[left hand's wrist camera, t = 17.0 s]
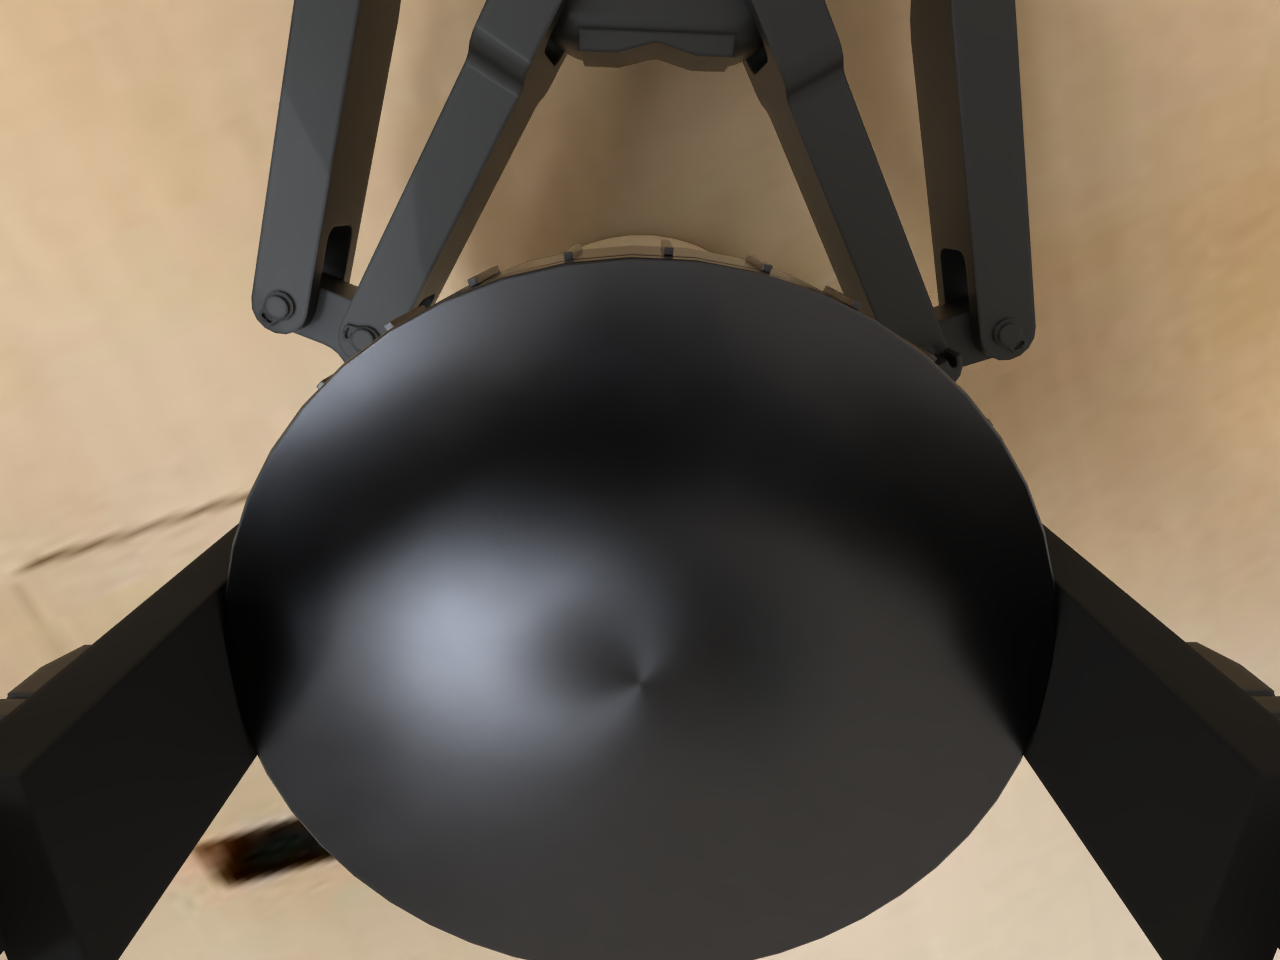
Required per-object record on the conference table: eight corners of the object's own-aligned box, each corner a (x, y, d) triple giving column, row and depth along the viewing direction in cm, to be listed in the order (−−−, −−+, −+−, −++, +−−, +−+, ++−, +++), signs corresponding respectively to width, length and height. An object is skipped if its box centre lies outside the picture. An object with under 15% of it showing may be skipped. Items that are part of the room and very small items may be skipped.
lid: (137, 555, 12) (38, 626, 10) (712, 49, 10) (730, 12, 8) (594, 957, 15) (587, 1073, 13) (1118, 650, 13) (1207, 736, 11)
